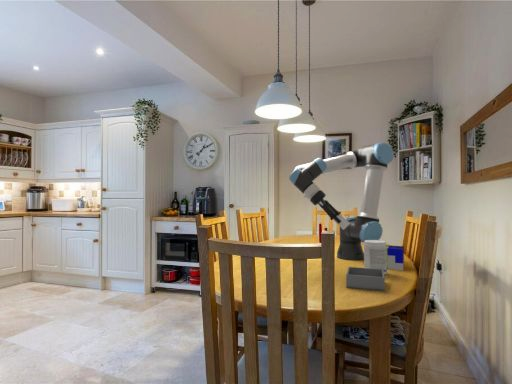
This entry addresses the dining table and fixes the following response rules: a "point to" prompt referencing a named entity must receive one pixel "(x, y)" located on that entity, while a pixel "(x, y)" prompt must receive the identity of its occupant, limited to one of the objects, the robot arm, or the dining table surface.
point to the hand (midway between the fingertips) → (346, 226)
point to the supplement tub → (375, 255)
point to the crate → (365, 278)
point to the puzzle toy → (395, 257)
